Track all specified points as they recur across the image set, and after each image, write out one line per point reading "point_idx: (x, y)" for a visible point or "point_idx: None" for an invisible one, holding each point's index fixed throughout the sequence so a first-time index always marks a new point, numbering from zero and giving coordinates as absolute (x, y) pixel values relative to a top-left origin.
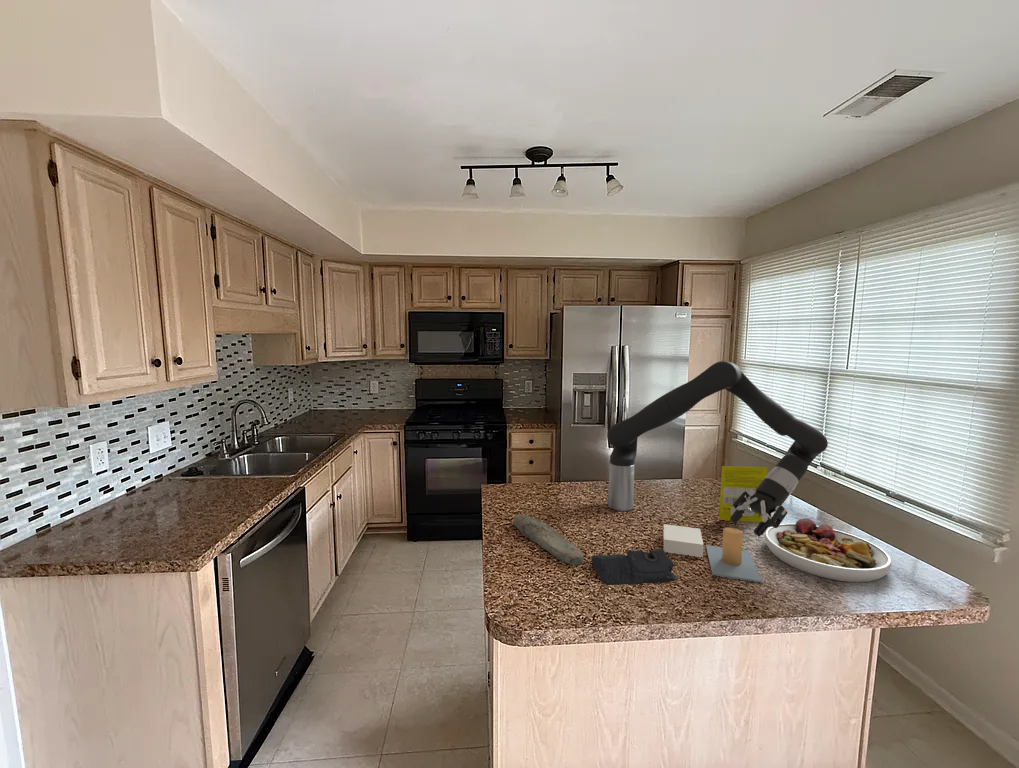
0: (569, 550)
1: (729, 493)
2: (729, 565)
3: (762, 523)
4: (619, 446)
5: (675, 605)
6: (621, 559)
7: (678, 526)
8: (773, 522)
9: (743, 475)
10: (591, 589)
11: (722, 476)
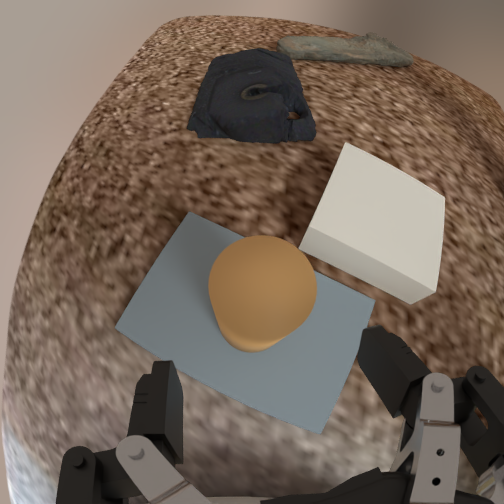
0: (301, 42)
1: None
2: None
3: (146, 429)
4: None
5: (123, 110)
6: (253, 62)
7: (440, 228)
8: (67, 459)
9: None
10: (206, 51)
11: None
